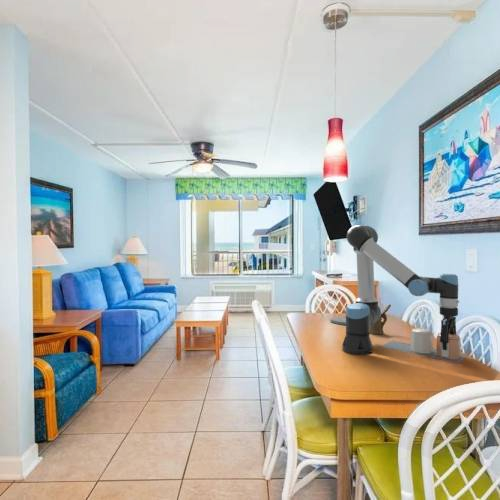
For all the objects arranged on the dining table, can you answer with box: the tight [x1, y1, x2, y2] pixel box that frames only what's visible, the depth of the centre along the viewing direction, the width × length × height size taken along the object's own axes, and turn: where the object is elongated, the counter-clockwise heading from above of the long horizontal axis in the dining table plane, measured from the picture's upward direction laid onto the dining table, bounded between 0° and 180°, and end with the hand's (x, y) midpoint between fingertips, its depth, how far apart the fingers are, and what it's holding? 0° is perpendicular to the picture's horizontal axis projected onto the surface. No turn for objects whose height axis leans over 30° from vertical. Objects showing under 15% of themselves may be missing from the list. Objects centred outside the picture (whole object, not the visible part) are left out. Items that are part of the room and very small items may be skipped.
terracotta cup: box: [436, 332, 461, 359], centre depth 162 cm, size 9×9×10 cm
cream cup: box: [410, 327, 434, 353], centre depth 171 cm, size 9×9×10 cm
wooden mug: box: [369, 304, 392, 335], centre depth 211 cm, size 9×14×18 cm, turn 75°
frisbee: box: [330, 316, 346, 326], centre depth 239 cm, size 20×27×3 cm
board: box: [379, 340, 468, 364], centre depth 171 cm, size 16×36×2 cm, turn 44°
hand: (448, 354), depth 162 cm, fingers closed on terracotta cup, 9 cm apart
